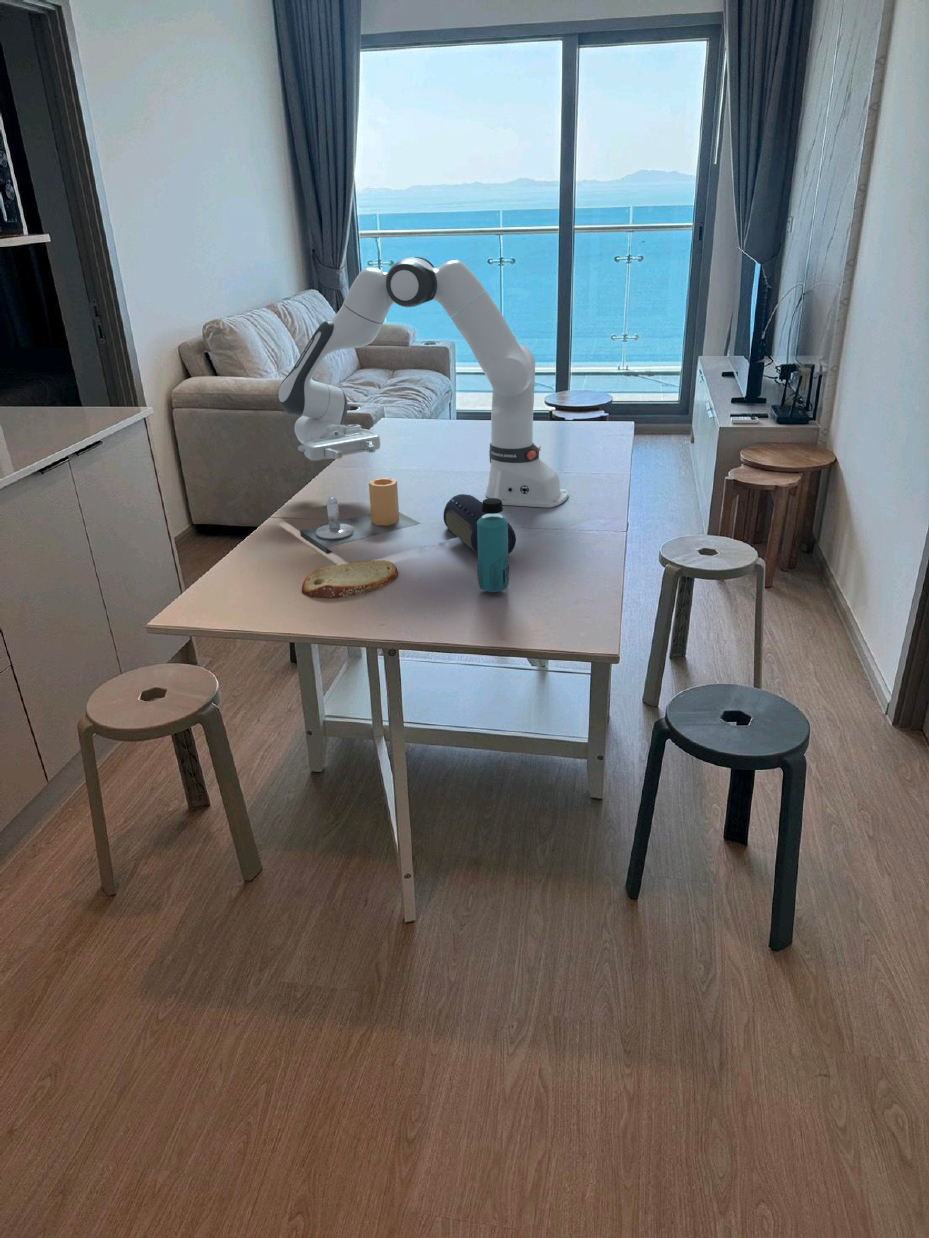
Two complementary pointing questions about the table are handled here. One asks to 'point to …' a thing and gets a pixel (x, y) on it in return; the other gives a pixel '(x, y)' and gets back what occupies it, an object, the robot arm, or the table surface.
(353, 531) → the board
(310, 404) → the robot arm
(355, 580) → the slice of bread
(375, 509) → the sleeve
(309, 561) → the table surface
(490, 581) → the beverage bottle
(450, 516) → the portable speaker
